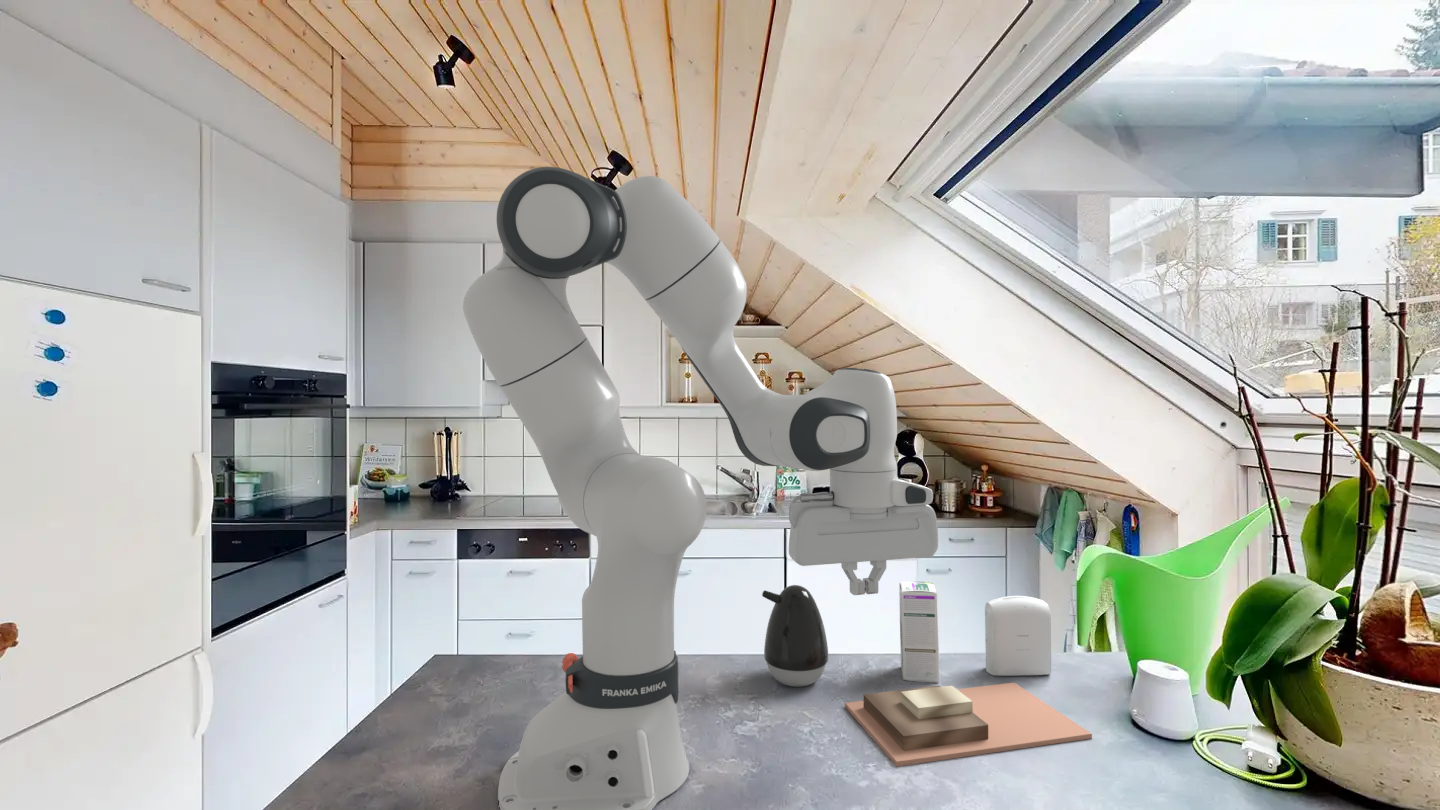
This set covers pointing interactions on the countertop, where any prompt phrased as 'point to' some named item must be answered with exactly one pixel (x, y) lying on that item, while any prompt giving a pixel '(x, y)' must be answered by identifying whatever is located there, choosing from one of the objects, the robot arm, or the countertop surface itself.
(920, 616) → the syrup box
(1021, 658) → the photo printer
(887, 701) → the walnut block
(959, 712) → the birch tile
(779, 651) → the pump dispenser
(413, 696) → the countertop surface
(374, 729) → the countertop surface
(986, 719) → the rubber mat
